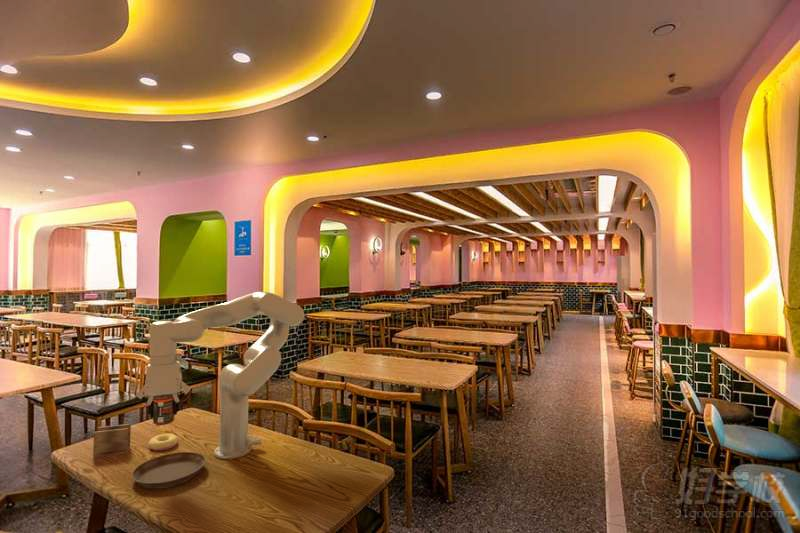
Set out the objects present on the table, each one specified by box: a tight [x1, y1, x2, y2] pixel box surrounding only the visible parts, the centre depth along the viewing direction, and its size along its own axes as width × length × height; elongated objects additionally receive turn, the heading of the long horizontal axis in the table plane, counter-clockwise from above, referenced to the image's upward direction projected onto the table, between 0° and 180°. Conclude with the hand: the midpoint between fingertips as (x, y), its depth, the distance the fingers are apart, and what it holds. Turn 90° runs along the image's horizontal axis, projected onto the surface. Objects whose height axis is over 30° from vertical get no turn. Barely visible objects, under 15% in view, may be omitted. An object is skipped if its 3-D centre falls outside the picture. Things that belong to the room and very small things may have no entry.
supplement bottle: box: [152, 395, 175, 426], centre depth 133 cm, size 6×6×11 cm
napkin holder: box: [92, 423, 132, 458], centre depth 147 cm, size 10×5×9 cm, turn 113°
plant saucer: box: [131, 451, 206, 489], centre depth 132 cm, size 21×21×3 cm
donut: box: [148, 433, 179, 452], centre depth 153 cm, size 10×5×9 cm
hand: (164, 414), depth 133 cm, fingers closed on supplement bottle, 6 cm apart
